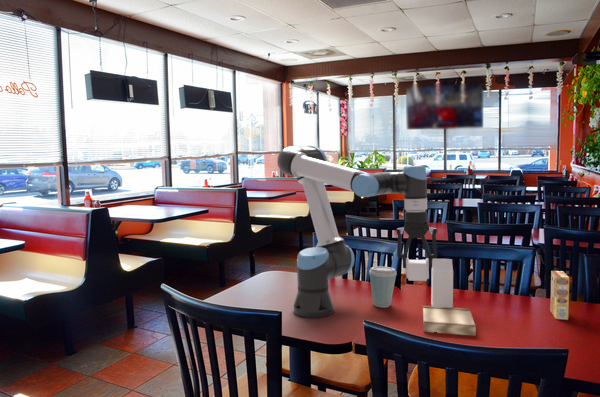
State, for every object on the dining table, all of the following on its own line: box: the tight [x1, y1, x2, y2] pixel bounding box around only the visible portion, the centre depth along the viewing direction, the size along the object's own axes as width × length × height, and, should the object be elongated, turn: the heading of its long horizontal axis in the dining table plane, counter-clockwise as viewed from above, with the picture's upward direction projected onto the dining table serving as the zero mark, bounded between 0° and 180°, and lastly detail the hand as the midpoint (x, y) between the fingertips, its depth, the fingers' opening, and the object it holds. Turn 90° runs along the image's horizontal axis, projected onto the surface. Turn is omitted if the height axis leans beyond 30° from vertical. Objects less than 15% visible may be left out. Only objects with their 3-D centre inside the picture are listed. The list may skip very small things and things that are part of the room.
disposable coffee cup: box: [368, 266, 398, 309], centre depth 174 cm, size 11×11×15 cm
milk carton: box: [430, 258, 454, 308], centre depth 169 cm, size 7×7×19 cm
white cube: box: [407, 259, 428, 282], centre depth 154 cm, size 6×6×6 cm
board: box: [422, 305, 477, 337], centre depth 153 cm, size 16×16×3 cm
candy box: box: [550, 270, 570, 321], centre depth 159 cm, size 9×4×15 cm, turn 162°
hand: (417, 277), depth 154 cm, fingers closed on white cube, 6 cm apart
